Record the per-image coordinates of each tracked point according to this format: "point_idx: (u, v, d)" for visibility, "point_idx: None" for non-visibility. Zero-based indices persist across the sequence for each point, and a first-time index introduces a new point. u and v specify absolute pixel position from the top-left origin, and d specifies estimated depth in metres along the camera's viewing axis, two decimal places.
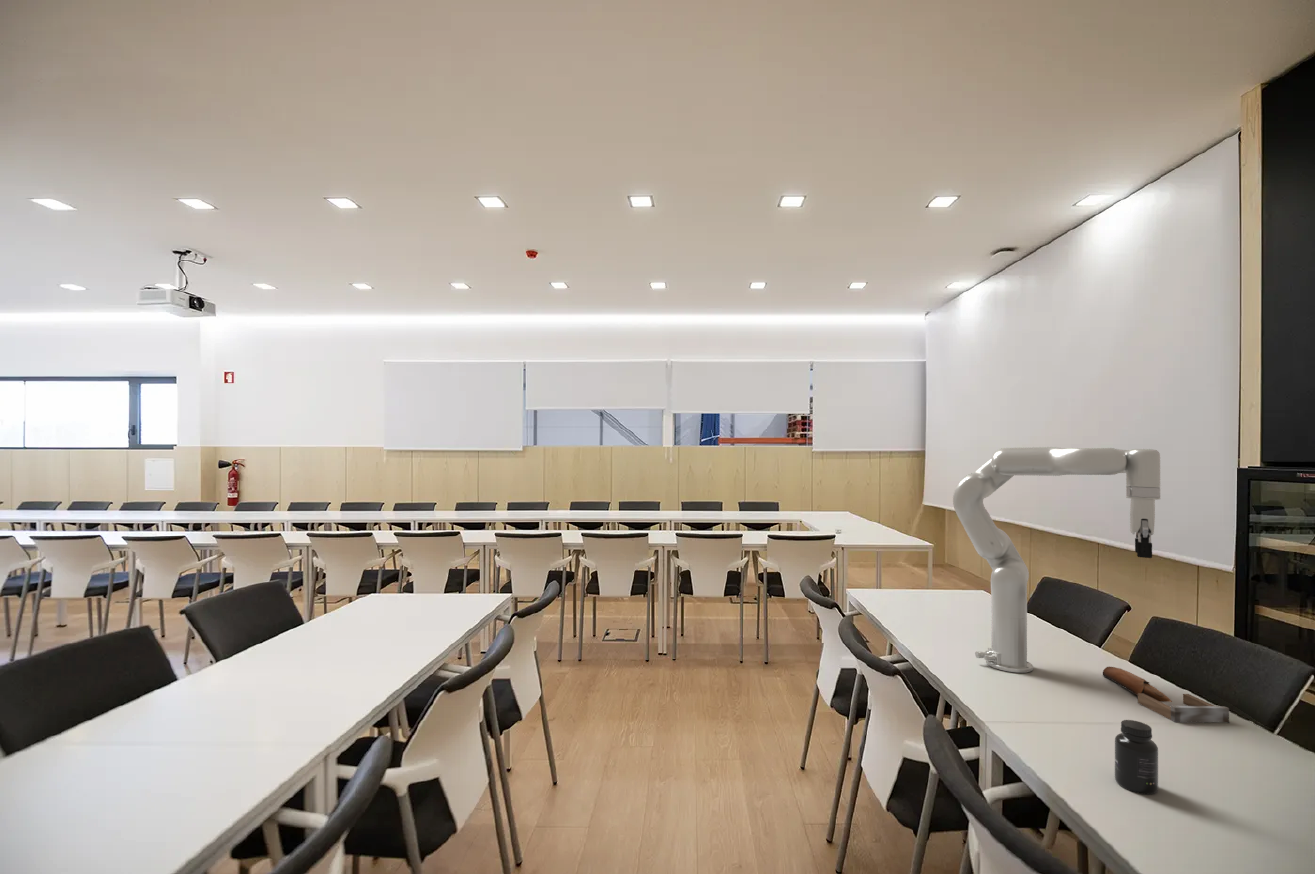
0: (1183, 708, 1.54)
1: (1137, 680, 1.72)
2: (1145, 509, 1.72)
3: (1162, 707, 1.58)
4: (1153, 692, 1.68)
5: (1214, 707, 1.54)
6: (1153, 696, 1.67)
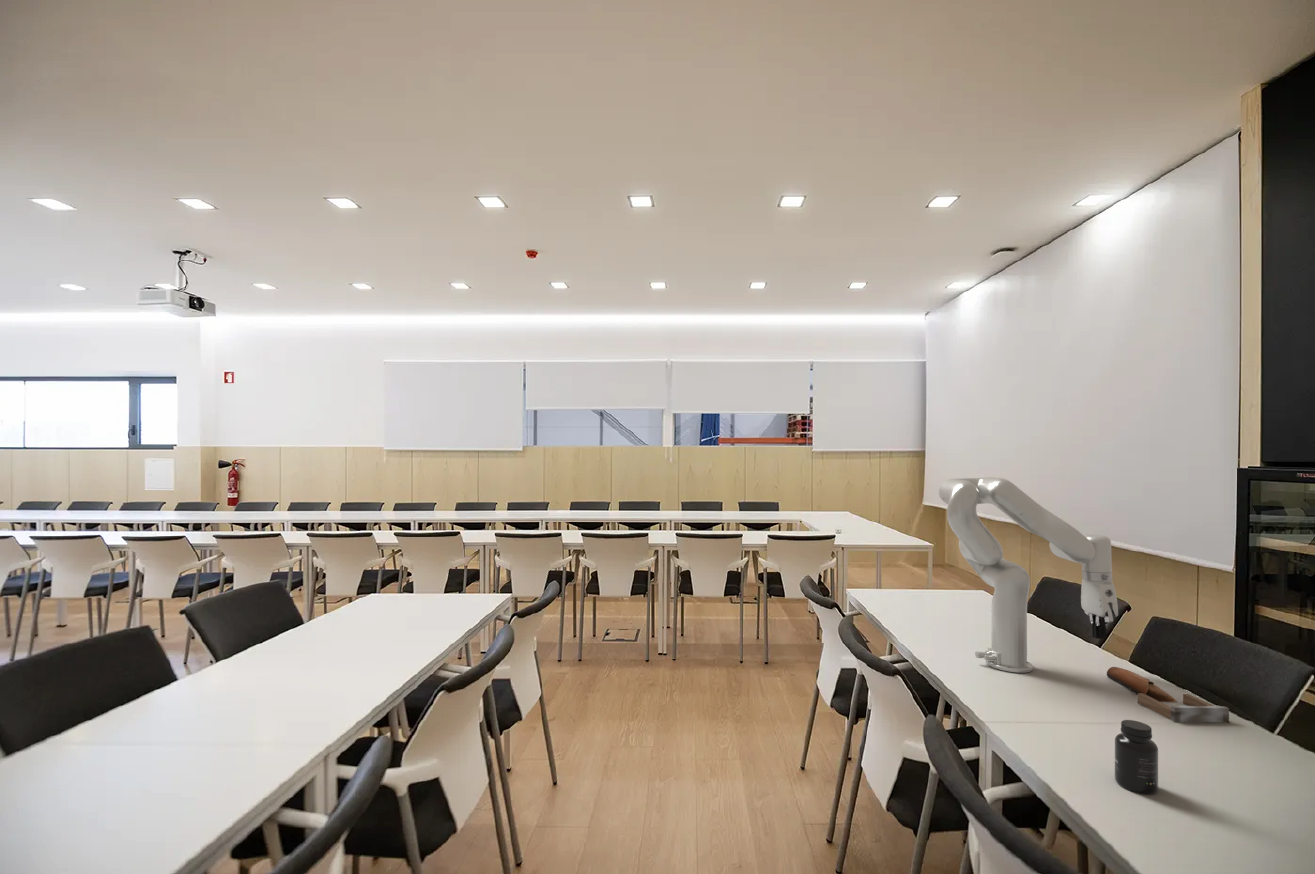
0: (1183, 708, 1.54)
1: (1142, 680, 1.72)
2: None
3: (1162, 707, 1.58)
4: (1158, 692, 1.68)
5: (1214, 707, 1.54)
6: (1158, 696, 1.67)
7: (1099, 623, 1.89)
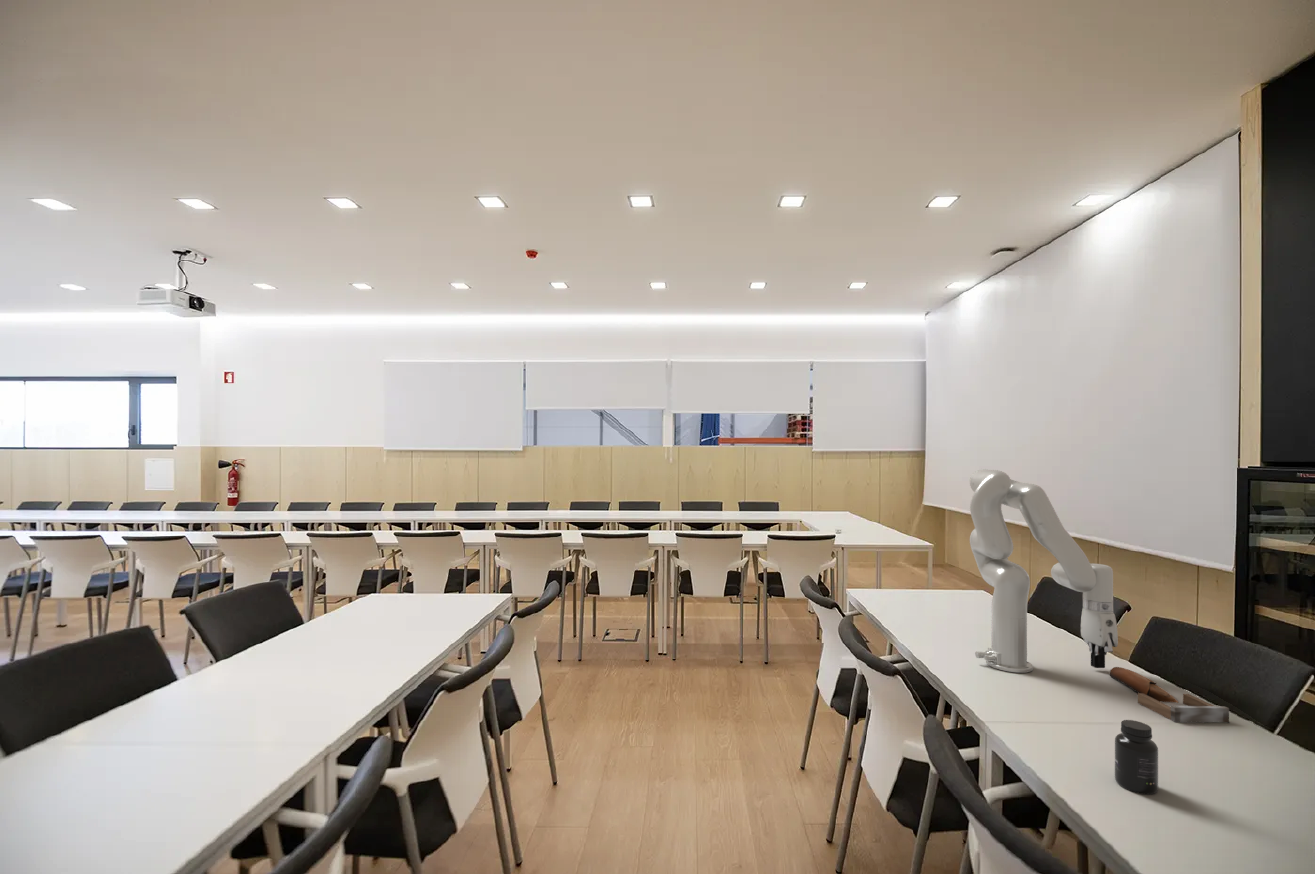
0: (1183, 708, 1.54)
1: (1143, 680, 1.72)
2: None
3: (1162, 707, 1.58)
4: (1159, 693, 1.67)
5: (1214, 707, 1.54)
6: (1159, 697, 1.67)
7: (1098, 652, 1.88)
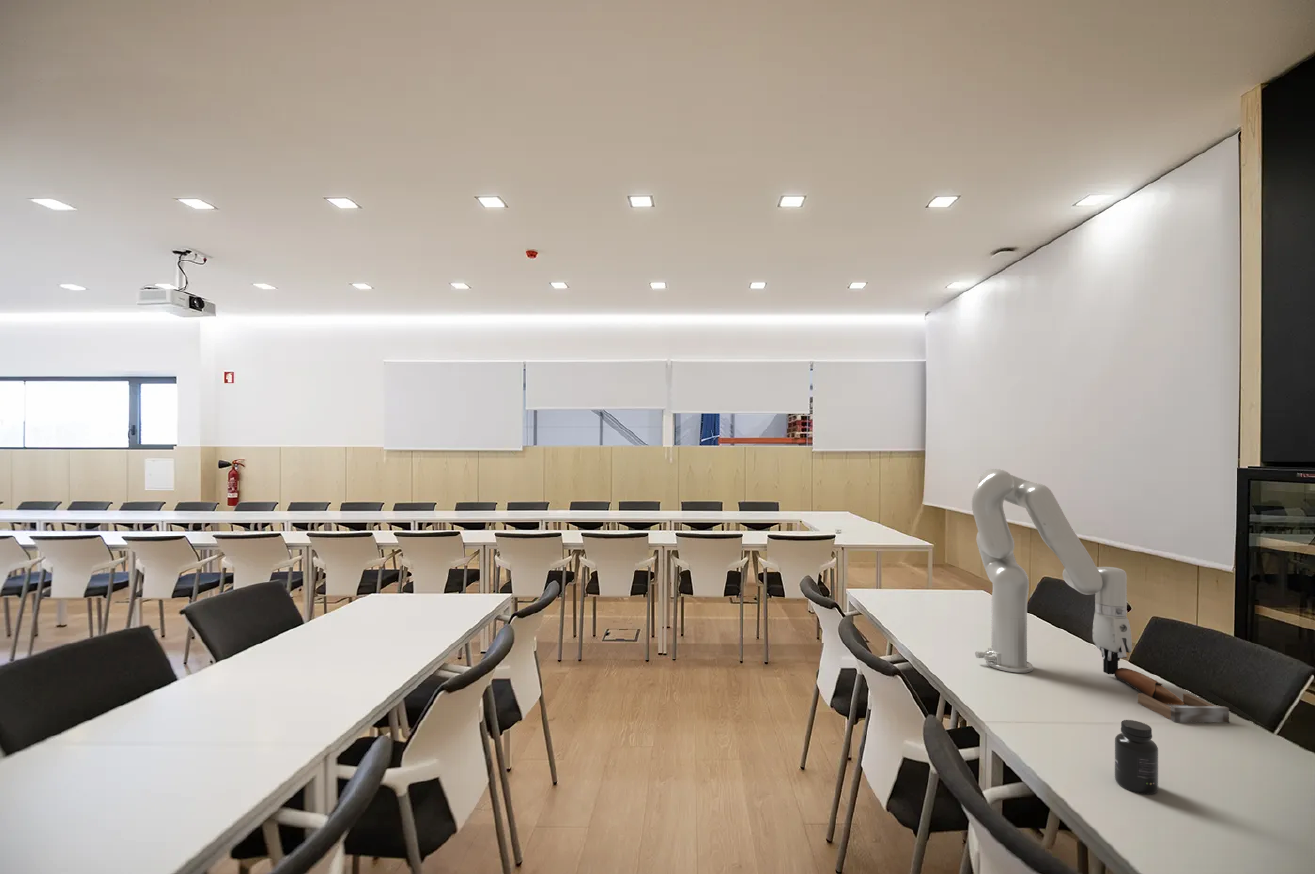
0: (1183, 708, 1.54)
1: (1149, 681, 1.70)
2: None
3: (1162, 707, 1.58)
4: (1165, 694, 1.66)
5: (1214, 707, 1.54)
6: (1165, 698, 1.65)
7: (1111, 658, 1.83)
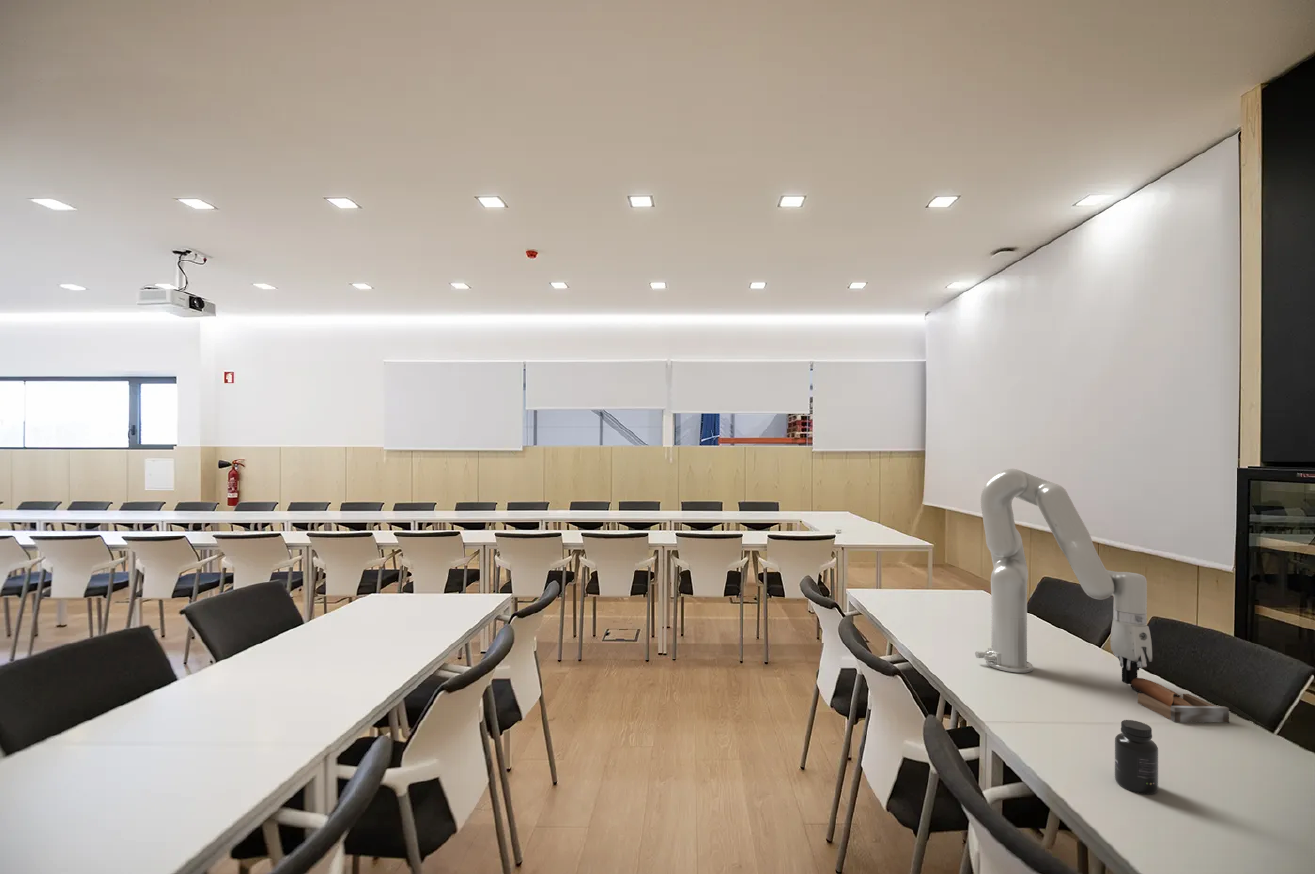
0: (1183, 708, 1.54)
1: (1167, 693, 1.63)
2: None
3: (1162, 707, 1.58)
4: None
5: (1214, 707, 1.54)
6: None
7: (1130, 668, 1.75)
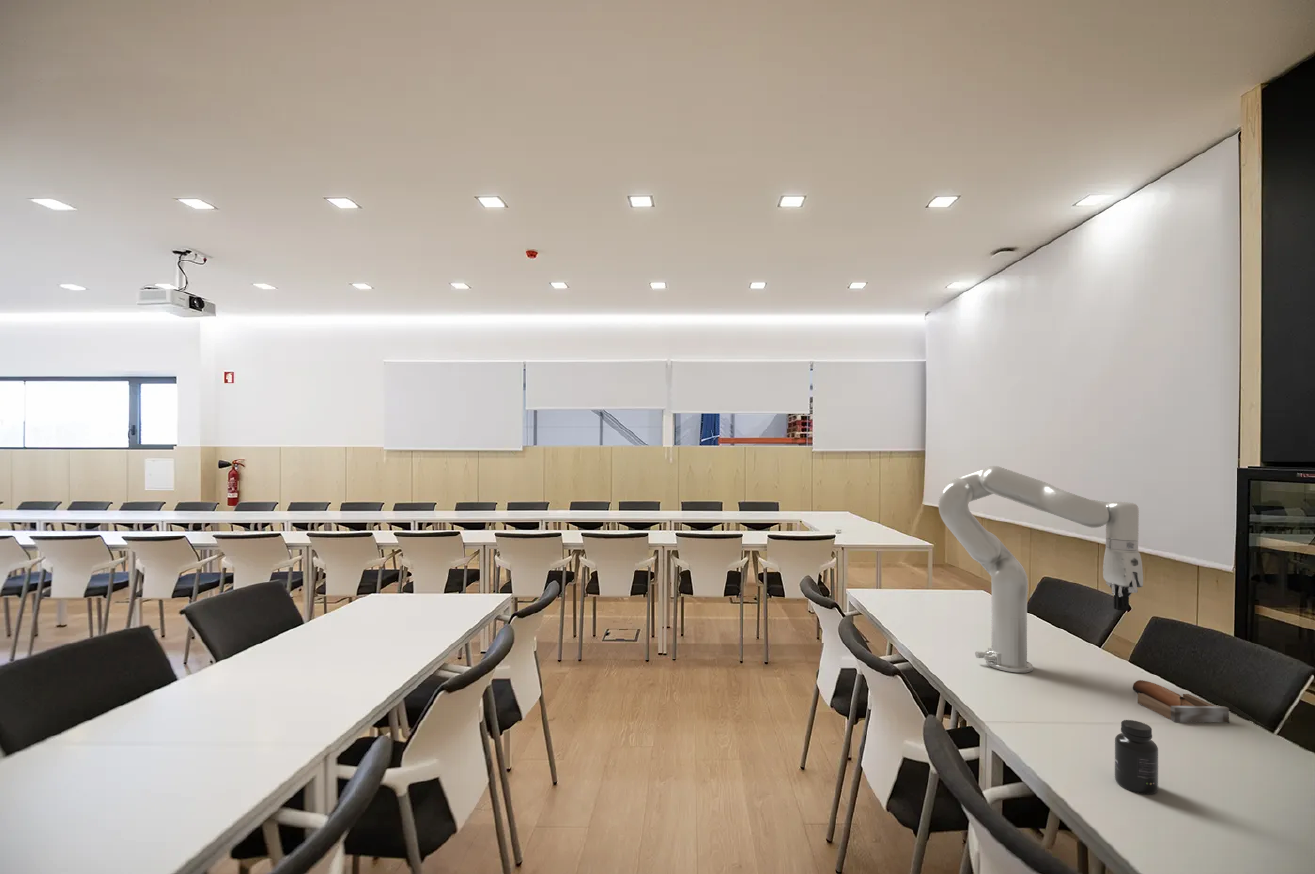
0: (1183, 708, 1.54)
1: (1172, 696, 1.61)
2: None
3: (1162, 707, 1.58)
4: None
5: (1214, 707, 1.54)
6: None
7: (1122, 594, 1.79)
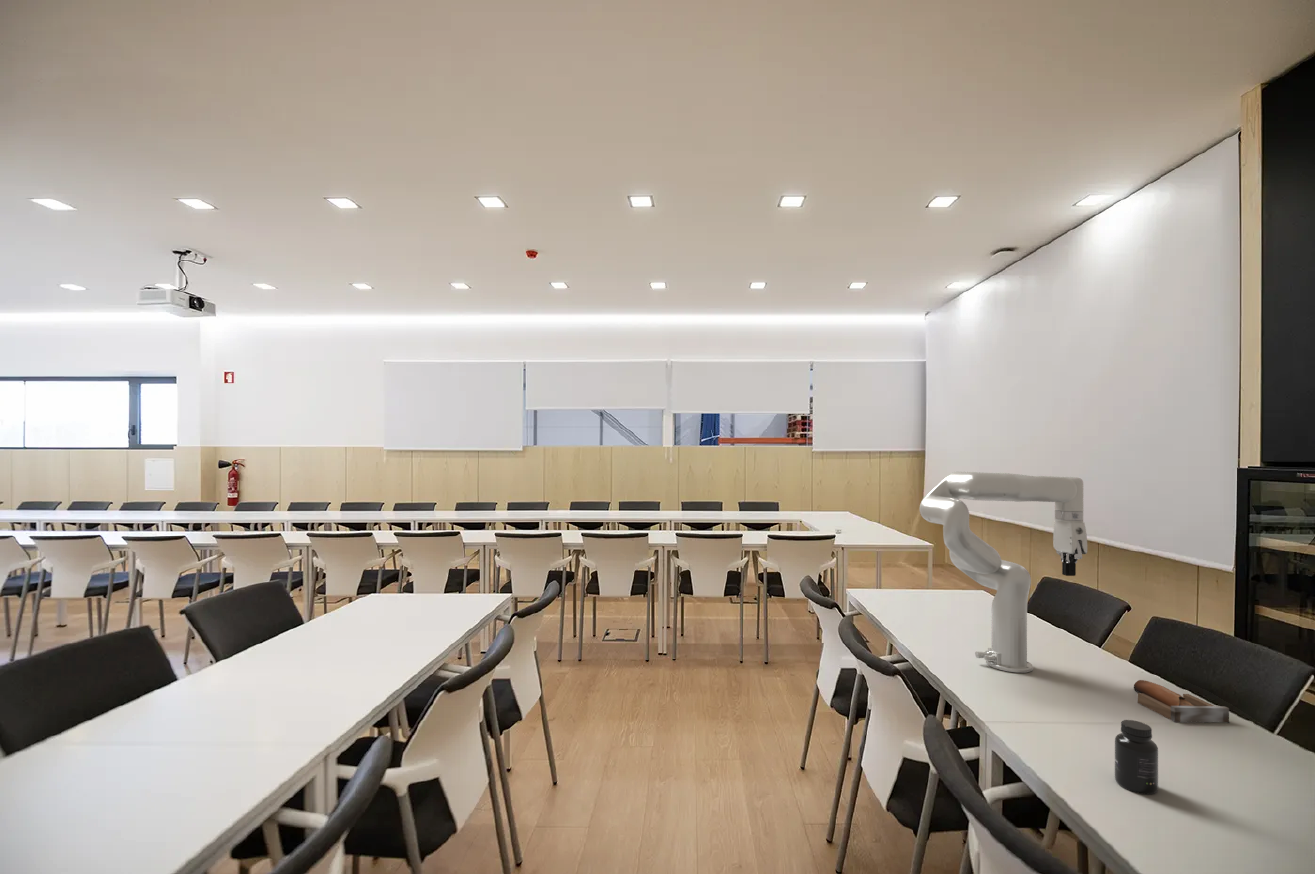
0: (1183, 708, 1.54)
1: (1172, 695, 1.61)
2: None
3: (1162, 707, 1.58)
4: None
5: (1214, 707, 1.54)
6: None
7: (1069, 561, 1.96)
